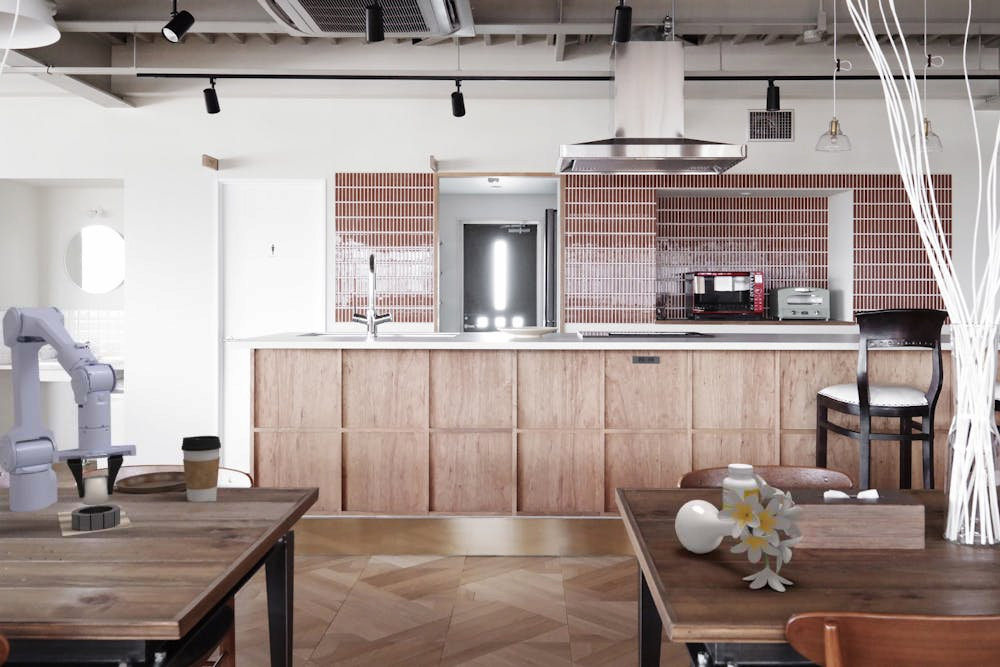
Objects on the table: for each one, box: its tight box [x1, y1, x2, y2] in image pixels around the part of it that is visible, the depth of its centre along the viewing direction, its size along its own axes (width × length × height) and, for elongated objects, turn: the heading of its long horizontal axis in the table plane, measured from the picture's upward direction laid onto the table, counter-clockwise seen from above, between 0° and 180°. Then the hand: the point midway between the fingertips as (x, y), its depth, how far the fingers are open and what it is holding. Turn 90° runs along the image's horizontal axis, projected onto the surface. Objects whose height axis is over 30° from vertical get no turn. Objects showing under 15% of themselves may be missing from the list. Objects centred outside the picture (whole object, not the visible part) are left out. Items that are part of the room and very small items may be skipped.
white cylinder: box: [82, 474, 109, 506], centre depth 154 cm, size 4×4×5 cm
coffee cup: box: [180, 435, 222, 503], centre depth 176 cm, size 8×8×15 cm
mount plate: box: [57, 505, 133, 537], centre depth 159 cm, size 20×12×1 cm, turn 32°
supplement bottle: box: [722, 463, 759, 510], centre depth 153 cm, size 7×7×13 cm
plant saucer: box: [114, 470, 187, 494], centre depth 190 cm, size 18×18×3 cm
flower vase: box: [674, 471, 805, 593], centre depth 132 cm, size 13×18×25 cm
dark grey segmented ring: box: [71, 504, 120, 531], centre depth 154 cm, size 8×8×3 cm
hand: (95, 495), depth 154 cm, fingers closed on white cylinder, 4 cm apart
